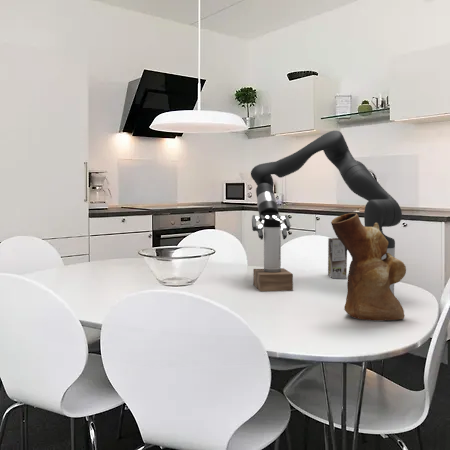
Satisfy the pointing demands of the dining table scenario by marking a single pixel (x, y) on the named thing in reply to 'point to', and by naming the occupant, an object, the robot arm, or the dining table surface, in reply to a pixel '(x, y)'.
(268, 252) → the travel mug
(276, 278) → the walnut block
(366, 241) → the ceramic vessel
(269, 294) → the dining table surface
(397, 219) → the robot arm
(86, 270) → the dining table surface
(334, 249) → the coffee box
